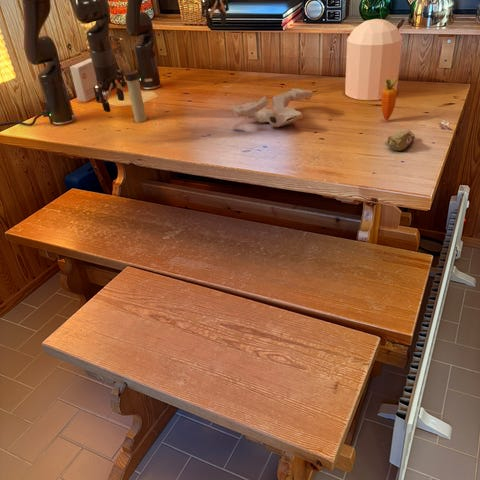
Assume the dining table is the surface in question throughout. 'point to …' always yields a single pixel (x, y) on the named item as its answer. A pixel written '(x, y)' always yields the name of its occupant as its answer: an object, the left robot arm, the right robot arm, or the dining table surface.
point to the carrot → (388, 99)
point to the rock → (400, 140)
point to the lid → (131, 75)
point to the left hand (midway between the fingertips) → (114, 105)
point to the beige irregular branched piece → (280, 112)
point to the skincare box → (84, 80)
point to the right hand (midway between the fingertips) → (217, 25)
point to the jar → (136, 100)
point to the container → (372, 59)
